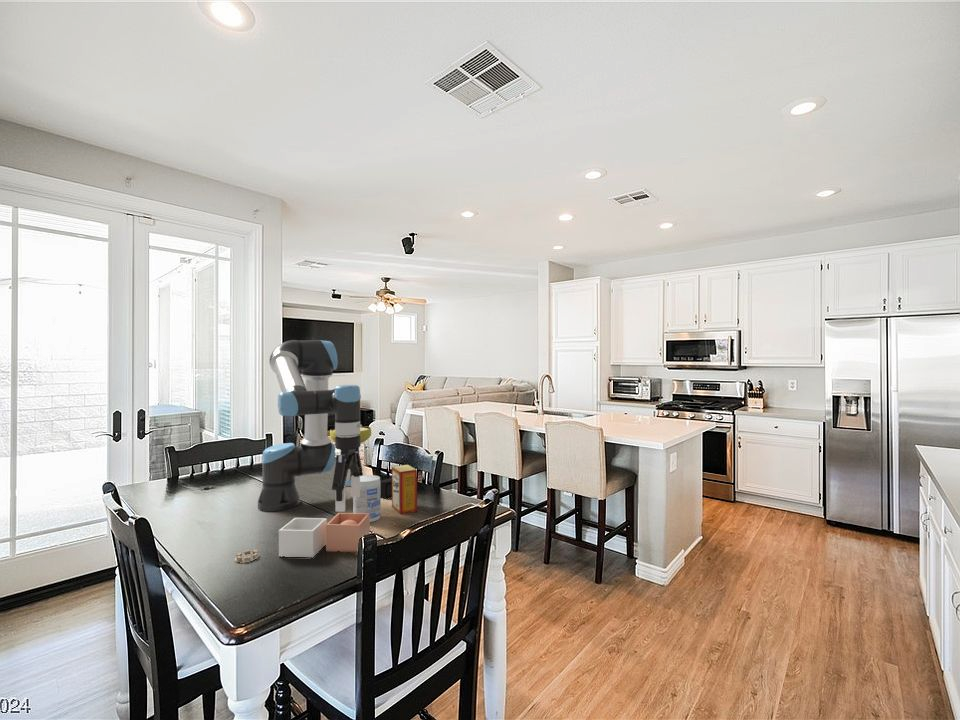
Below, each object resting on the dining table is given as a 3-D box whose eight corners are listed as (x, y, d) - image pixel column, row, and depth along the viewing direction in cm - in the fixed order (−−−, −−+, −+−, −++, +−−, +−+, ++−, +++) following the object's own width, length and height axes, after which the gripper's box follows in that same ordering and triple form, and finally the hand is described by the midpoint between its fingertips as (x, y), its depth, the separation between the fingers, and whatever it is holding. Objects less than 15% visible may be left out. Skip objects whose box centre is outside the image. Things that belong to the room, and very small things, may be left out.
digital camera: (387, 500, 185) (387, 483, 185) (378, 497, 189) (378, 481, 188) (406, 494, 194) (406, 477, 193) (397, 491, 197) (397, 475, 197)
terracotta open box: (326, 551, 138) (325, 524, 137) (338, 537, 148) (338, 512, 148) (359, 552, 137) (359, 525, 137) (369, 538, 147) (369, 513, 147)
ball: (333, 547, 139) (333, 524, 139) (341, 538, 146) (341, 516, 146) (356, 548, 139) (355, 525, 138) (363, 538, 146) (363, 516, 145)
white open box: (278, 557, 133) (278, 530, 133) (295, 543, 143) (294, 517, 143) (313, 558, 133) (312, 531, 133) (327, 543, 143) (326, 518, 143)
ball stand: (230, 563, 130) (230, 558, 130) (243, 553, 136) (243, 548, 136) (252, 563, 129) (251, 559, 129) (264, 553, 136) (263, 549, 136)
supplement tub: (371, 525, 158) (371, 482, 158) (347, 522, 161) (347, 480, 161) (385, 515, 168) (385, 475, 167) (362, 513, 170) (362, 473, 170)
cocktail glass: (341, 477, 220) (340, 425, 219) (377, 478, 217) (377, 425, 217) (323, 488, 202) (322, 431, 201) (362, 489, 199) (362, 432, 199)
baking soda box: (392, 507, 177) (391, 465, 177) (408, 504, 180) (407, 463, 180) (400, 514, 169) (400, 471, 169) (417, 511, 172) (416, 468, 172)
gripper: (345, 443, 129) (346, 518, 129) (371, 428, 154) (372, 491, 154) (319, 442, 130) (320, 517, 130) (349, 428, 155) (350, 491, 155)
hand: (348, 503), depth 142 cm, fingers open, 13 cm apart
